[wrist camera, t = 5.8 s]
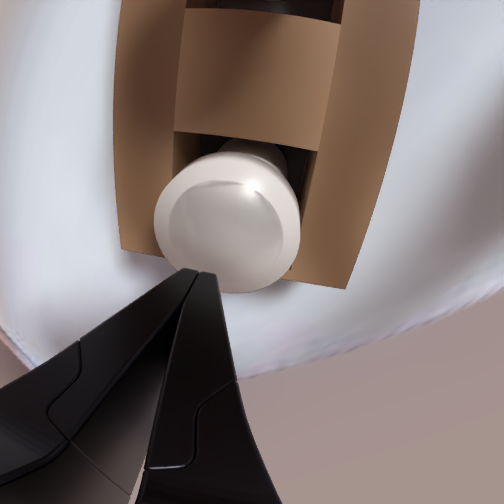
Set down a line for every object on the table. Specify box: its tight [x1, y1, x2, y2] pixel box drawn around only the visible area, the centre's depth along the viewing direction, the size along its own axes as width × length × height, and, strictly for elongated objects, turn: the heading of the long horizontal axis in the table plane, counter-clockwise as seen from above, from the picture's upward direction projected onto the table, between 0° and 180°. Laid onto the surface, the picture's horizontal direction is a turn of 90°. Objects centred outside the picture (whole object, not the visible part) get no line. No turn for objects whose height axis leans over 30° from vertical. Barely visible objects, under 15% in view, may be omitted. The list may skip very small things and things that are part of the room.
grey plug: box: [154, 138, 300, 293], centre depth 12 cm, size 5×5×6 cm
